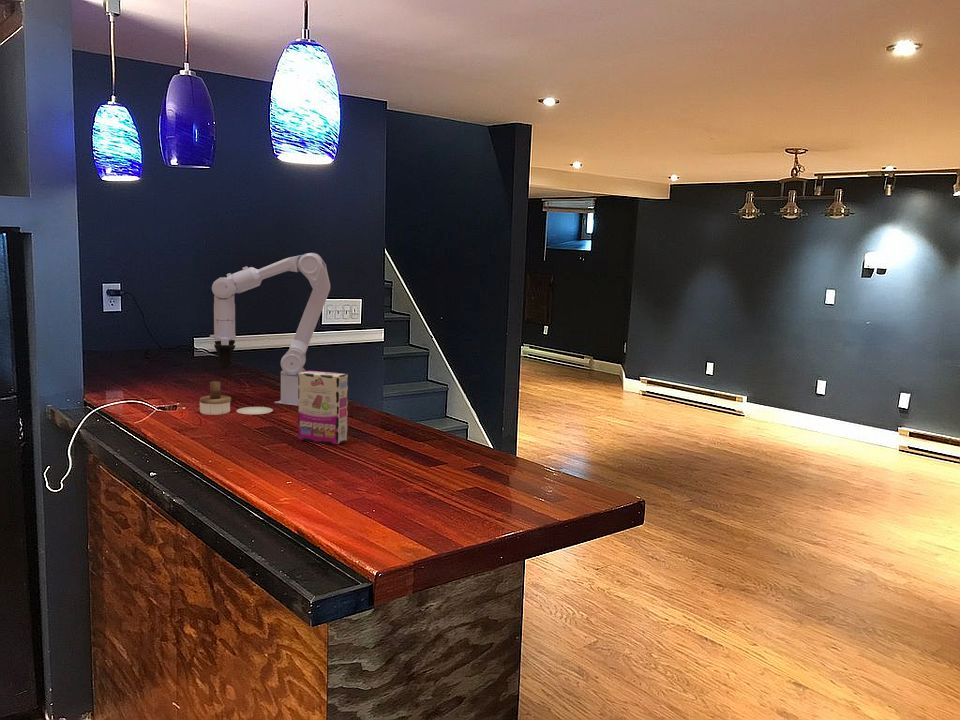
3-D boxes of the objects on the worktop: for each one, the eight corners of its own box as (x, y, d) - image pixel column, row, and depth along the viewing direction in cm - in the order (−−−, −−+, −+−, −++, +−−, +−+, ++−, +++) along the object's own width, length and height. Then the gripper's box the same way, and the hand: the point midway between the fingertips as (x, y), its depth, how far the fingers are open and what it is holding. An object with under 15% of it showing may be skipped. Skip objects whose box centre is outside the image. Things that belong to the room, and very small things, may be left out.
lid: (237, 400, 212) (237, 381, 211) (217, 405, 205) (217, 385, 204) (213, 397, 215) (213, 378, 214) (193, 402, 207) (192, 382, 207)
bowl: (235, 412, 212) (235, 400, 212) (217, 417, 205) (216, 405, 205) (213, 409, 215) (212, 397, 214) (194, 414, 208) (194, 402, 207)
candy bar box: (348, 440, 187) (349, 373, 185) (337, 445, 183) (338, 376, 180) (308, 435, 191) (308, 369, 189) (296, 439, 187) (297, 372, 184)
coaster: (279, 411, 216) (279, 409, 216) (258, 417, 207) (258, 415, 207) (251, 407, 219) (251, 405, 219) (228, 413, 211) (228, 411, 210)
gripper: (210, 317, 227) (210, 363, 229) (209, 322, 213) (209, 371, 215) (235, 317, 229) (235, 363, 231) (236, 322, 215) (236, 371, 217)
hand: (225, 367), depth 223 cm, fingers open, 7 cm apart
